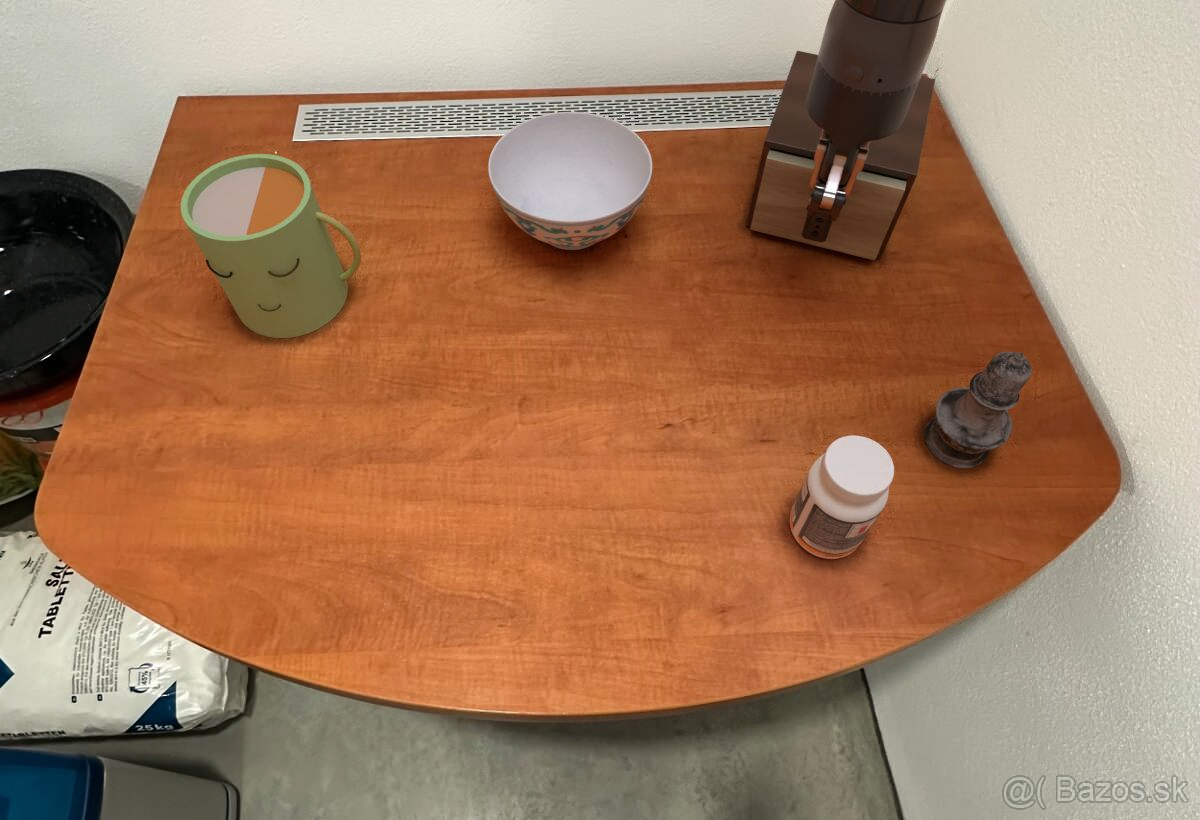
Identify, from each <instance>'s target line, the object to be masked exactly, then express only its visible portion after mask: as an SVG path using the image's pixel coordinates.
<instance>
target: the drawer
mask: <svg viewBox="0 0 1200 820" xmlns="http://www.w3.org/2000/svg"><path fill="white" fill-rule="evenodd" d="M814 167H815V161H814V160H811V157H807V156H803V155H799V154H794V153H790V152H786V151H781V150H777V152H776V151H772V150H769V153H768V156H767V159H766V163H765V167H764V172H763V176H762V180H761V185H760V189H759V193H758V198H757V202H756V206H755V211H754V215H753V219H752V224H751V228H750V227H749V228H750V230H751V231H755V232H759V233H763V234H766V235H771V236H774V237H778V238H781V239H787V240H790V241H795V242H798V243H803V244H806V245H811V246H815V247H818V248H823V249H827V250H831V251H835V252H839V253H843V254H847V255H851V256H856V257H859V258H863V259H867V260H871V261H876V257H877V254H878V252H879V250H880V247H881V245H882V243H883V240H884V238H885V236H886V233H887V231H888V229H889V226H890V224H891V222H892V219H893V217H894V215H895V212H896V210H897V208H898V205H899V203H900V201H901V198H902V196H903V194H904V191H905V187H906V181H902V180H898V178H899V177H894V176H890V175H886V174H881V173H877V172H876V173H875V174H872V173H867V172H863V171H860V172H858V174H857V177H856V180H855V182H854V185H853V188H852V191H851V193H850V195H849V196H847V197H846V198H845V199H847V201H846V204H845V206H844V205H843V207H842V210H841V212H840V214H839V217H838V218H837V219H836V221H832V224H831V227H830V230H829V233H828V236H827V239H826V241H825V242H816V241H812V240H808V239H805V238H803V237H802V231H803V228H804V224H805V221H806V218H807V212H808V210H806V209H807V206H808V204H809V205H810V203H808V202H809V198H810V197H811V193H812V191H813V190H812V189H811V188H810V186H809V184H810V180H811V177H812V174H813V170H814Z"/></svg>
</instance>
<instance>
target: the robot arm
mask: <svg viewBox="0 0 1200 820" xmlns="http://www.w3.org/2000/svg"><path fill="white" fill-rule="evenodd" d="M946 3H947V0H834V2H833V4H832V7H831V10H830V12H829V15H828V17H827V21H826V24H825V28H824V31H823V36H822V39H821V43H820V46H819V51H818V54H817V55H818V58H817V62H816V65H815V69H814V73H813V77H812V81H811V85H810V88H809V92H808V96H807V101H806V106H807V111H808V113H809V116H810V117H811V119H812V120H813V121H814V123H815V124H816V125H818V126H819V127H820V128H821V129H822V132H821V136H820V139H819V142H818V146H817V149H816V152H815V156H814V161H815V167H814V170H813V174H812V177H811V180H810V184H809V186H810V188H811V189H812V190H813V191H812V193H811V197H810V198H809V202H808V203H810V205H809V204H808V206H807V209H806V210H808V212H807V218H806V221H805V224H804V228H803V231H802V237H803V238H805V239H808V240H812V241H816V242H825V241H826V239H827V236H828V233H829V230H830V227H831V224H832V221H836V219H837V218H838V217H839V214H840V212H841V210H842V207H843V205H844V206H845V204H846V201H847V199H845V198H846V197H847V196H849V195H850V193H851V191H852V188H853V185H854V182H855V180H856V177H857V174H858V172H860V171H862V169H863V167H864V164H865V161H866V158H867V155H868V152H869V148H868V147H869V144H870V141H874V140H880V139H883V138H886V137H888V136H890V135H892V134H893V133H895V132H896V131H897V130H898V129H899V128H900V127H901V125H902V124H903V122H904V120H905V117H906V115H907V112H908V109H909V107H910V104H911V102H912V99H913V96H914V94H915V91H916V89H917V86H918V83H919V81H920V78H921V76H922V77H923V72H924V70H925V68H926V65H927V63H928V60H929V58H930V55H931V52H932V49H933V47H934V45H935V41H936V39H937V35H938V31H939V26H940V22H941V18H942V14H943V11H944V8H945V5H946Z"/></svg>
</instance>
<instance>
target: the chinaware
mask: <svg viewBox="0 0 1200 820" xmlns="http://www.w3.org/2000/svg"><path fill="white" fill-rule="evenodd" d="M487 169H488V170H487V171H488V178H489V182H490V184H491V187H492V189H493V192H494V194H495V196H496V199H497V201H498V202H499V204H500V206H501V208H503V211H504V212H505V213H506V215H507V216H508V217H509V219H510V220H511V221H512V222H513V223H514V224H515V225H516V226H517V227H518V228H520V230H522V231H523V232H525V233H526V234H528V235H529V236H530V237H533V238H534V239H536V240H538V241H539V242H540V241H541V242H543V243H546V244H549V245H551V246H553V247H555V248H558V249H561V250H569V251H576V250H577V251H578V250H582V249H586V248H589V247H591V246H593V245H595V244H596V243H599V242H601V241H604V240H606V239H608V238H609V237H611V236H613V235H615V234H616V233H618V232H619V231H620V230H621V229H622V228H623V227H625V226H626V225H627V224H628V223H629V221H630V220H631V219H632V218H633V217H634V216H635V214H636V213H637V211H638V210H639V208H640V207H641V205H642V203H643V201H644V199H645V197H646V194H647V193H648V189H649V186H650V184H651V179H652V175H653V159H652V155H651V151H650V150H649V148H648V146H647V144H646V143H645V142H644V140H643V139H642V138H641V137H640V136H639V135H638V134H637V133H636V132H635V131H634V130H632V128H629V126H626V125H625V124H624V123H621V122H619V121H617V120H615V119H612V118H610V117H607V116H604V115H600V114H595V113H590V112H583V111H560V112H552V113H546V114H543V115H539V116H538V115H537V116H534V117H532V118H529V119H526V120H525V121H522V122H520V123H519V124H517V125H514V126H513V127H512V128H510V129H509V130H507V132H505V133H504V134H503V135H502V136H501V137H500V138H499V140H498V141H496V143H495V145H494V147H493V148H492V150H491V152H490V154H489V158H488V163H487Z"/></svg>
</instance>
